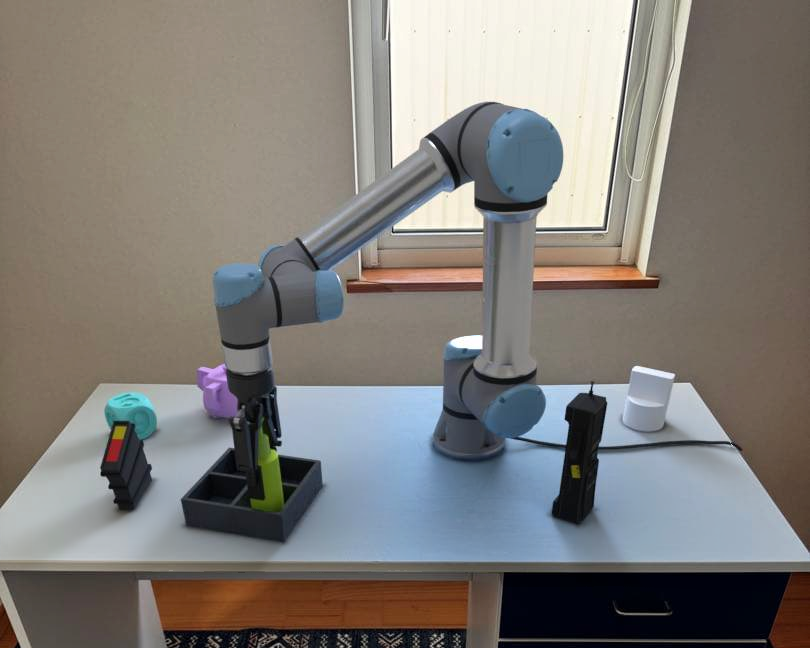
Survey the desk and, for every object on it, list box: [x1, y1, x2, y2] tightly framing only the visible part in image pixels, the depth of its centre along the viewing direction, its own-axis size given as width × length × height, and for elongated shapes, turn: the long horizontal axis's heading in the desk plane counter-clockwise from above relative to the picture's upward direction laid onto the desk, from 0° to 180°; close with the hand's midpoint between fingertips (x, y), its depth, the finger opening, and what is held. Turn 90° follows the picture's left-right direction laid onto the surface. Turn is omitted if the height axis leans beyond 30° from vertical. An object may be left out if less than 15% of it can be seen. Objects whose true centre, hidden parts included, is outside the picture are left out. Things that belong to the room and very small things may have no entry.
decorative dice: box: [103, 391, 158, 441], centre depth 164 cm, size 8×8×8 cm
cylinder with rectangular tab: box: [622, 365, 676, 433], centre depth 166 cm, size 9×9×12 cm
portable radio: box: [551, 380, 608, 525], centre depth 133 cm, size 8×6×25 cm
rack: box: [180, 446, 324, 543], centre depth 142 cm, size 19×19×6 cm
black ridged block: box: [99, 421, 153, 510], centre depth 143 cm, size 4×13×15 cm
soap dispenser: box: [249, 417, 284, 513], centre depth 133 cm, size 6×7×20 cm
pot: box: [196, 363, 238, 419], centre depth 171 cm, size 18×17×12 cm
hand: (264, 488), depth 134 cm, fingers closed on soap dispenser, 6 cm apart
